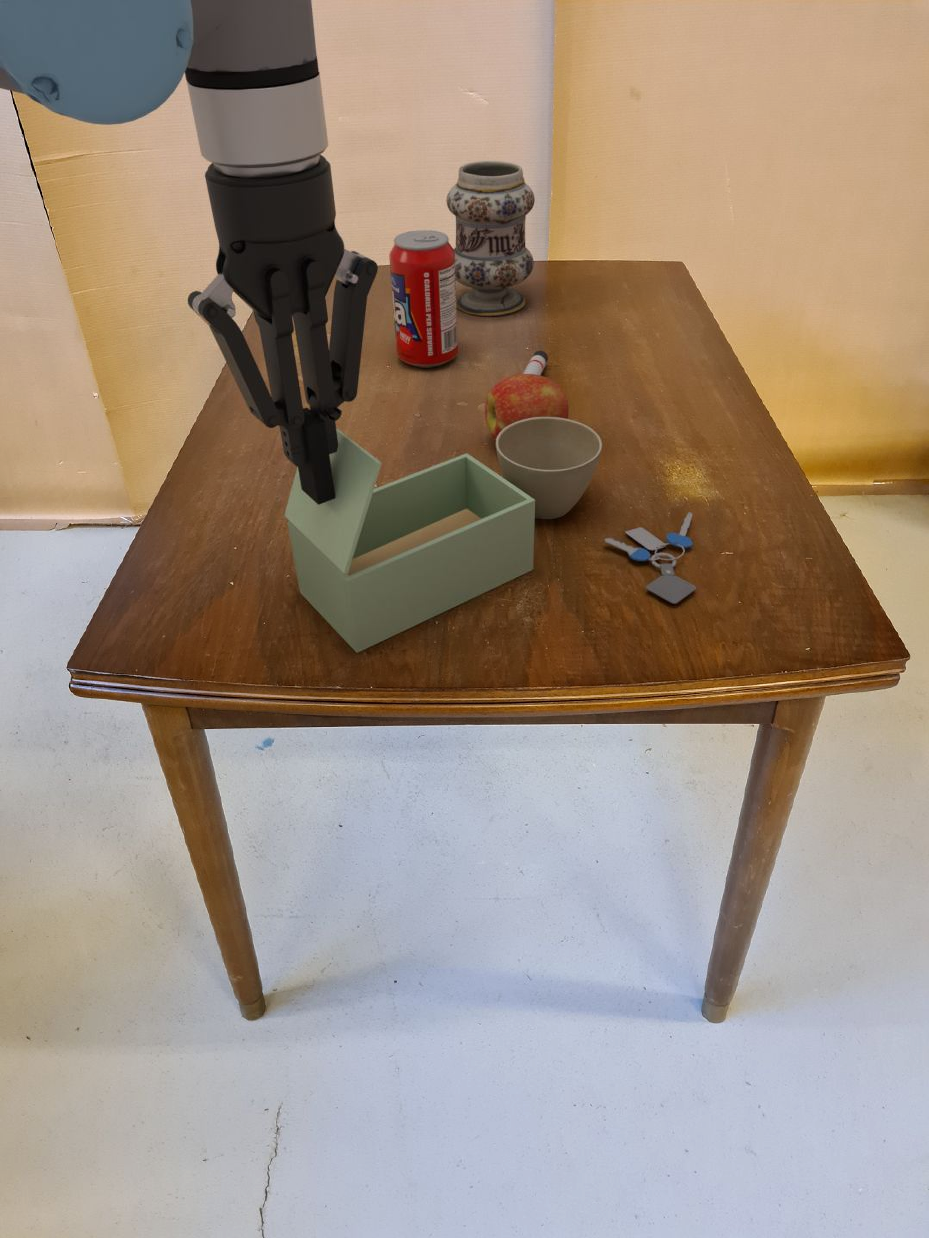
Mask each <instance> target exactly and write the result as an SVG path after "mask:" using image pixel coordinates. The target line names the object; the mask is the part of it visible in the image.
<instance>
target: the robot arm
mask: <svg viewBox="0 0 929 1238" xmlns="http://www.w3.org/2000/svg"><path fill="white" fill-rule="evenodd" d="M315 35H316V34H315V24H314V14H313V3H312V0H0V89H2V90H6V91H9V92H15V93H18V94H23V95H25V96H27V97H28V98H29V99H31V100H32V101H34V102H36V103H38V104H39V105H41V106H43V107H45V108H46V109H48V110H49V111H50V112H52V113H55V114H57V115H60V116H63V117H67V118H71V119H72V120H73V119H74V120H76V121H79V122H83V123H87V124H92V125H101V126H102V125H103V126H112V125H113V126H114V125H121V124H126V123H131V122H134V121H137V120H139V119H141V118H143V117H145V116H147V115H149V114H151V113H152V112H154V111H156V110H157V109H159V108H160V107H161V106H162V105H163V104H165V103H166V102H167V101H168V100H169V98H170V97H171V96H172V95H173V94H174V93H175V91H176V90H177V88H178V86H179V84H180V83H181V81H182V79H183V77H184V76H185V80H186V84H187V85H186V86H187V89H188V95H189V100H190V106H191V109H192V115H193V120H194V126H195V130H196V135H197V140H198V141H197V142H198V146H199V151H200V154H201V155H200V156H201V157H202V158H204V159H205V160H206V161H207V162H210V164H209V166H208V167H207V170H206V171H205V172H204V178H205V183H206V190H207V193H208V199H209V203H210V208H211V214H212V219H213V224H214V228H215V232H216V237H217V240H218V254H217V258H216V260H215V269H216V274H217V275H216V276H215V277H214V278H213V280H212V281H211V282H210V283H209V284H207V286H206V287H205V289H204V290H203V291H202V292H201V291H200V290H194V291H192V292H190V293H189V295H188V297H187V304H188V306H189V308H190V309H191V310H192V311H193V312H194V313H195V314H196V315H197V316H199V317H200V318H201V320H203V322H205V324H207V325H208V326H209V330H210V331H211V333H212V336H213V337H214V340H215V341H216V344H217V346H218V348H219V350H220V352H221V354H222V356H223V358H224V360H225V363H226V365H227V366H228V369H229V370H230V373H231V375H232V377H233V379H234V382H235V383H236V385H237V387H238V389H239V391H240V393H241V395H242V398H243V400H244V402H245V404H246V407H247V408H248V410H249V413H251V414H252V415H253V416H254V417H255V418H256V419H257V420H259V422H260V423H262V424H263V425H264V426H265V427H267V428H269V429H274V428H276V427H279V433H280V437H281V442H282V443H281V444H282V449H283V454H284V455H285V457H286V459H287V460H288V461H289V462H291V464H292V465H295V467H296V468H297V467H298V471H299V477H300V483H301V489H302V490H303V491H304V492H305V493H306V494H307V495H308V496H309V497H310V498H311V499H312V500H314V501H315V502H316V503H317V504H318V505H319V504H322V503H325V502H327V501H330V500H332V499H335V492H334V484H333V477H332V470H331V463H330V456H329V454H332V453H335V452H337V449H338V439H337V431H336V428H337V424H336V421H338V420H339V419H340V418H341V416H342V412H343V411H342V409H339V408H338V407H340V406H341V405H342V404H344V403H345V402H347V403H350V402H353V401H354V400H355V399H356V398H357V395H358V388H359V379H360V369H361V359H362V351H363V350H362V349H363V341H364V333H365V332H364V331H365V323H366V322H365V321H366V314H367V313H366V311H367V302H368V296H369V294H370V291H371V289H372V286H373V283H374V281H375V279H376V277H377V274H378V271H379V265H378V263H377V262H376V261H375V260H373V259H371V258H369V257H368V256H365V255H364V254H361V253H359V252H357V251H355V250H351V251H350V250H348V249H346V248H345V242H344V240H343V238H342V237H341V234H339V232H338V229H337V226H336V216H337V211H336V210H337V209H336V203H335V202H336V201H335V193H334V184H333V176H332V166H331V163H330V162H329V161H328V160H327V158H326V157H325V156H324V155H322V154H323V153H324V152H325V151H326V150H327V148H328V147H329V138H328V130H327V121H326V114H325V105H324V97H323V89H322V81H321V71H320V70H319V69H320V68H319V62H318V54H317V46H316V36H315ZM334 279H336V280H335V285H334V289H333V290H334V291H333V301H332V311H331V325H330V334H329V340H328V332H327V323H328V322H329V315H328V307H327V300H326V296H327V294H328V292H329V290H330V288H331V285H332V283H333V281H334ZM233 293H234V294H235V295H237V297H238V298H239V299H241V301H243V302H244V303H245V305H247V306H248V307H249V308H250V309H252V311H253V316H254V320H255V323H256V324H257V327H258V330H259V335H260V339H261V340H260V341H261V346H262V352H263V357H264V362H265V369H266V373H267V379H268V380H267V381H268V385H269V389H268V387H267V384H266V382H265V380H264V378H263V375H262V373H261V371H260V369H259V367H258V364H257V362H256V360H255V358H254V355H253V353H252V351H251V349H250V346H249V344H248V343H247V340H246V337H245V335H244V333H243V332H242V330H241V328H240V327H239V325H238V323H237V322H236V321H235V320H234V319H233V318H234V317H235V316H236V314H237V313H236V305H235V303H234V302H233V298H232V297H233ZM294 332H295V339H296V345H297V352H298V357H299V366H300V373H301V378H302V383H303V390H304V391H303V392H304V396H305V401H306V404H308V405H309V408H308V407H307V406H306V407H304V405H303V400H302V399H303V397H302V393H301V387H300V380H299V379H300V378H299V373H298V372H299V371H298V366H297V360H296V354H295V347H294V340H293V334H294ZM269 390H270V391H269Z"/></svg>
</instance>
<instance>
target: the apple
mask: <svg viewBox="0 0 929 1238" xmlns="http://www.w3.org/2000/svg"><path fill="white" fill-rule="evenodd" d="M569 411H570V410H569V401H568V398H567V396H566V394H565V392H564V390H563V388H562V387H561V386H560V385H559V384H558V383H556V382H555V381H553V380H552V379H550V378H548V377H546V376H543V375H535V374H523V373H521V374H514V375H511V376H508V377H504V378H503V379H501V380H500V381H498V382H497V383H496V384H495V385H493V387H492V388H491V389H490V391H488V395H487V397H486V401H485V404H484V416H485V422H486V425H487V427H488V430H489V432H490V434H491V436H492V437H493V439H494V440H495V441H496V438H497V436H498V434H499V433H500V432H501V431H502V430H503V429H504V428H505V427H507V426H509V425H510V424H512V423H515V422H517V421H520V420H524V419H528V418H535V417H558V418H565V419H569Z"/></svg>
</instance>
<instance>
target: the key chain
mask: <svg viewBox="0 0 929 1238" xmlns="http://www.w3.org/2000/svg"><path fill="white" fill-rule="evenodd" d="M693 514H694V513H693V512H690V511H689V512H687V515H686V517H684V520H683V523H682V525H681V527H680V531H679V533H677V532H669V533H667V534H666V536H665V540H666V541H667V543H665V542H663V541H662V540H660V539H659V538H658V537H657V536H655V535H654V534H652V533H651V532H649V531H648V530H646V529H645V528H644V527H643V526H640V527H636V528H633V529H629V530H625V531H624V534H625V535H627V536H628V537H630V538H632V539H633V540H634V541H636V542H637V543H638V544H640V545H641V546H643V547H644V548H643V547H634V546H632V545H627V544H626V543H625V542H624V541H623V542H621V541H620V540H615V539H614V538H613V537H607V538H604V543H606V544H607V545H611V546H612V547H615V548H617V549H620V550H622V551H624V552H626V553H627V555H628V558H630V559H631V560H633V561H636V562H646V561H649V562H651V564H652V565H653V566H654V567H655V568H657V569H659V571H660V576H658V577H657V578H655V579H654V580H653V581H651V582H650V583H648V584H647V585H645V589H646V591H648V592H651V593H653V594H654V595H656V596H657V597H659V598H662V599H663V600H664V601H666V602H668V603H670V604H673V605H676V604H678V603H680V602H681V601H682V600H683V599H685V598H686V597H688V596H689V595H690V594H692V593H693V592H694V591H696V590H697V586H696V585H695V584H692V583H690V582H689V581H687V580H685V579H683V578H681V577H679V576H678V575H676V574H675V570H674V567H675V566H676V565H677V559H679V558H681V557H682V556H684V553H685V552H686V549H689V548H691V547H692V546H693V541H692V539H691V538H690V537H688V536H686V535H687V533H688V529H690V525H691V522H692V517H693ZM667 545H671V546H674V547H676V548H680V549H681V550H682V553H681V554H680V555H678V556H677V557H675V556H674V555H672V554H670V553H667V552H658V550H661V549H663V548H665V547H666V546H667ZM650 551H654V554H653V555H652V554H651V553H650ZM651 555H652V556H651ZM663 557H665V558H663ZM658 560H661V561H671V562H672V563H658V562H656V561H658Z"/></svg>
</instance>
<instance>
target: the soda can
mask: <svg viewBox="0 0 929 1238" xmlns="http://www.w3.org/2000/svg"><path fill="white" fill-rule="evenodd" d="M449 240H450V238H449V236H448V235H447V234H446V233H445V232H441V231H438V230H430V229H418V230H417V229H416V230H410V231H406V232H402V233H400V234H398V235H396V236H395V237H394V238H393V246H392V248H391V250H390V251H389V255H388V256H389V272H390V284H391V296H392V310H393V321H394V322H393V324H394V335H395V336H394V337H395V345H396V346H395V349H396V355H397V357H398V358H399V359H400V360H401V361H402V362H403V363H406V364H408V365H410V366H412V367H417V368H422V369H423V368H424V369H430V368H437V367H440V366H442V365H445V364H446V363H448V362H450V361H452V360H453V359H454V358H455V357H456V356H457V354H458V351H459V339H458V337H459V336H458V307H457V281H456V271H455V252H454V248H453V246H452V245H451V243H450V242H449Z"/></svg>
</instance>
